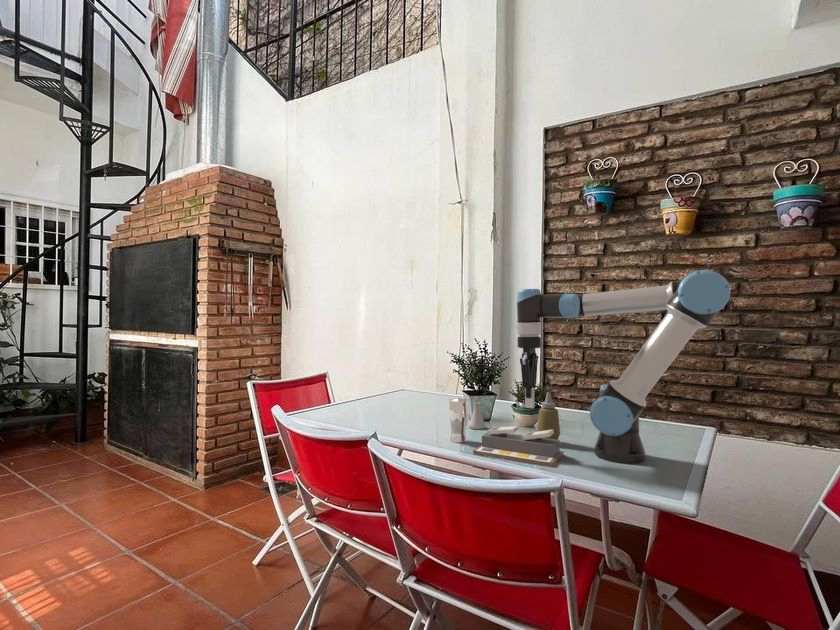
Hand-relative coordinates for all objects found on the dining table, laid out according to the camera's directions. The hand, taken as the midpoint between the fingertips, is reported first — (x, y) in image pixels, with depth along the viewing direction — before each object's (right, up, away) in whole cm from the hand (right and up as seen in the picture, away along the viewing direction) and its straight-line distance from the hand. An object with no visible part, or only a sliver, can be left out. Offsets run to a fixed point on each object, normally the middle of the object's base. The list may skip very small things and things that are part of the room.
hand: (529, 407), depth 151 cm
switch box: (-4, -15, 0) cm, 16 cm away
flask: (-13, -16, +36) cm, 42 cm away
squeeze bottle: (+10, -16, +14) cm, 23 cm away
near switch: (+2, -9, -1) cm, 9 cm away
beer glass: (-22, -16, +16) cm, 32 cm away
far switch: (-8, -9, +5) cm, 13 cm away
